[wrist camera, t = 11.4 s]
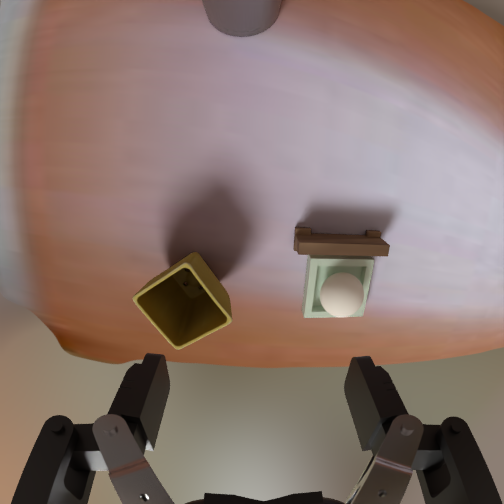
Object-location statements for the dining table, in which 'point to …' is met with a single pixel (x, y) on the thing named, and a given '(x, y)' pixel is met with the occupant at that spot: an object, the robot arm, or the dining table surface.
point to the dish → (324, 268)
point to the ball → (341, 294)
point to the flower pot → (185, 302)
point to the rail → (339, 243)
